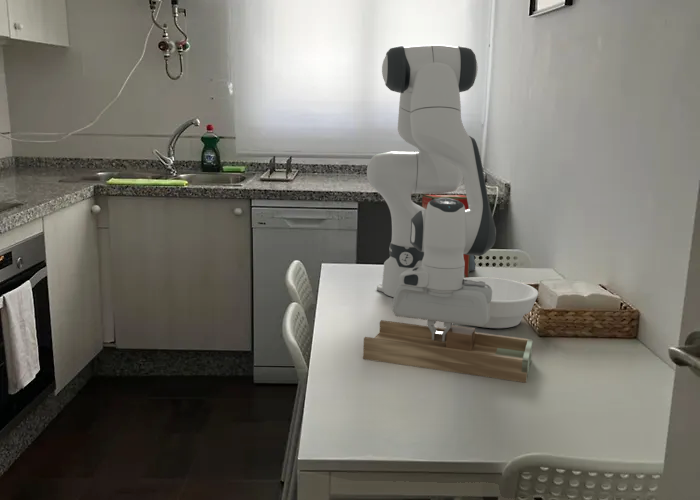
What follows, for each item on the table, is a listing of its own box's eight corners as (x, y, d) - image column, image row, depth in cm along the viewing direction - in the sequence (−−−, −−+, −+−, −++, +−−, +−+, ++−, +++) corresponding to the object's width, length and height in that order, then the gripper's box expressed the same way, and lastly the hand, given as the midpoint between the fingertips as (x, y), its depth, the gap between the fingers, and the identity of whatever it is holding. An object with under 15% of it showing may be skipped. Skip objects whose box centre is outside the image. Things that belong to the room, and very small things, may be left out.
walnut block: (450, 342, 151) (451, 325, 151) (474, 346, 150) (475, 328, 149) (446, 350, 147) (447, 332, 146) (469, 353, 145) (471, 335, 144)
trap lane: (380, 339, 158) (381, 320, 157) (531, 359, 148) (532, 339, 147) (363, 358, 146) (363, 338, 145) (525, 382, 136) (527, 360, 135)
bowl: (423, 317, 175) (425, 285, 173) (482, 302, 189) (484, 272, 188) (496, 343, 158) (498, 307, 157) (554, 324, 173) (557, 291, 171)
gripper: (494, 279, 146) (490, 342, 149) (399, 269, 153) (397, 330, 156) (490, 286, 140) (485, 352, 143) (391, 275, 147) (389, 338, 150)
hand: (438, 340), depth 150 cm, fingers closed
